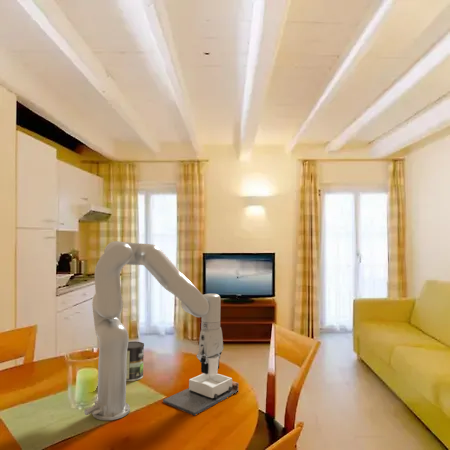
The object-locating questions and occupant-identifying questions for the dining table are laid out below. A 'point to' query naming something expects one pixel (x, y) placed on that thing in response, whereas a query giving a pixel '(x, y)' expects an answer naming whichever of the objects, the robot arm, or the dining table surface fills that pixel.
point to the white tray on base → (210, 384)
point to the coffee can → (134, 361)
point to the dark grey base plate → (197, 400)
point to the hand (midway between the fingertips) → (210, 370)
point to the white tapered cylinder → (212, 364)
